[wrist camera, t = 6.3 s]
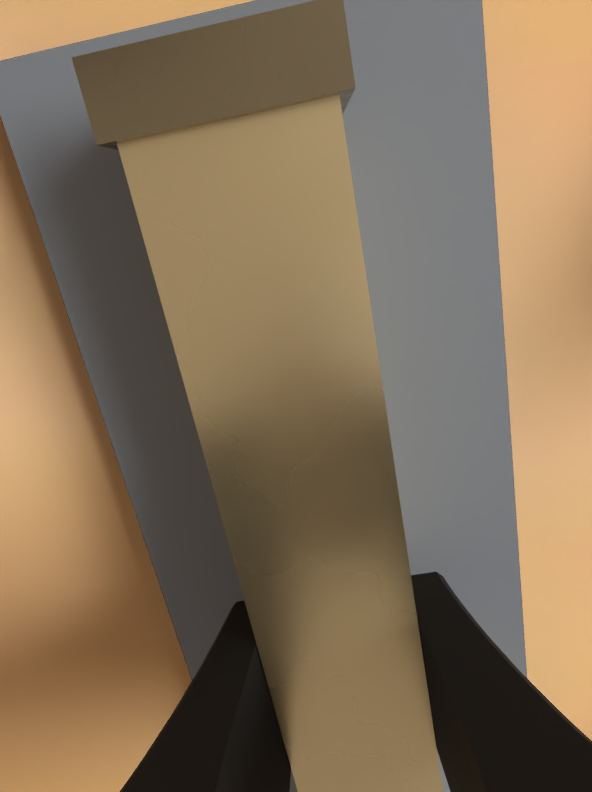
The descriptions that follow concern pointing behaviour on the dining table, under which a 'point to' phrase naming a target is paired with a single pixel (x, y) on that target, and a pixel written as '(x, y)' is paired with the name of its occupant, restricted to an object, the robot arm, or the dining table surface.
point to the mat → (388, 290)
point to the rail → (281, 368)
